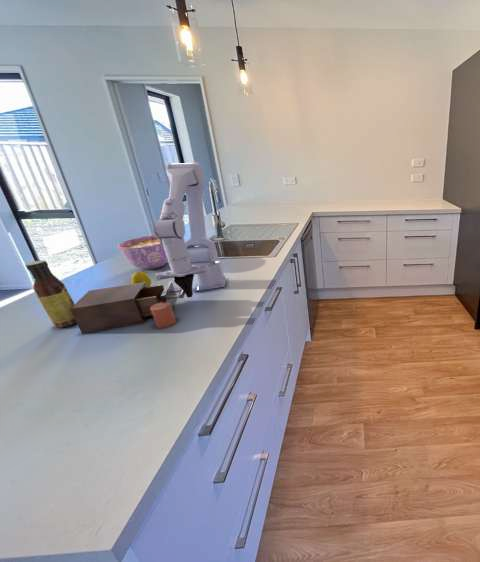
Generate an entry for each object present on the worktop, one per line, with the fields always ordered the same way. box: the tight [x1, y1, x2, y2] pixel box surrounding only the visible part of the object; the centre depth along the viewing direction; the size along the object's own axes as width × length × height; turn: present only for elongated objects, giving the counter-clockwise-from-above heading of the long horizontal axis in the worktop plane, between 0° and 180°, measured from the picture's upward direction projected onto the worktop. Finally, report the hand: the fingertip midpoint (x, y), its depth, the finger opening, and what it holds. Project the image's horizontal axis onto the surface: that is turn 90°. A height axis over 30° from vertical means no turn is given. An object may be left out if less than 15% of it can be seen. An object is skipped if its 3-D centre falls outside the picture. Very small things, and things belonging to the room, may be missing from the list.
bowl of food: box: [117, 234, 169, 270], centre depth 133 cm, size 20×20×12 cm
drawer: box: [136, 281, 186, 317], centre depth 96 cm, size 18×12×6 cm, turn 113°
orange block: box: [150, 302, 177, 329], centre depth 89 cm, size 5×5×6 cm
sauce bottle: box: [25, 259, 77, 329], centre depth 87 cm, size 6×6×20 cm
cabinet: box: [70, 282, 147, 335], centre depth 92 cm, size 15×13×8 cm
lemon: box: [130, 270, 152, 287], centre depth 110 cm, size 6×6×8 cm
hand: (190, 295), depth 99 cm, fingers closed
